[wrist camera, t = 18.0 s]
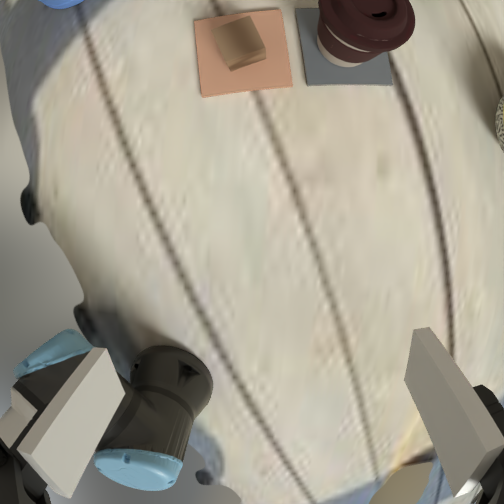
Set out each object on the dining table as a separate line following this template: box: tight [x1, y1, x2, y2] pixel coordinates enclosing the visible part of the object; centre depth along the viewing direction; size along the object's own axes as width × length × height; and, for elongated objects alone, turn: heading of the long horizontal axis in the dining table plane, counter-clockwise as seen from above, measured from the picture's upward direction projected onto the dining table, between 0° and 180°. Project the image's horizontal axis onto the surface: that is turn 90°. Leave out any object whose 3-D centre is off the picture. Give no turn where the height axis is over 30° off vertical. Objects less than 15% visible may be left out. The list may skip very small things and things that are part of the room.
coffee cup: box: [317, 0, 415, 67], centre depth 27 cm, size 10×10×15 cm
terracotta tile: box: [194, 9, 293, 98], centre depth 36 cm, size 12×12×1 cm
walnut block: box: [211, 15, 266, 72], centre depth 33 cm, size 5×5×5 cm
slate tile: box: [295, 8, 393, 86], centre depth 35 cm, size 12×12×1 cm
